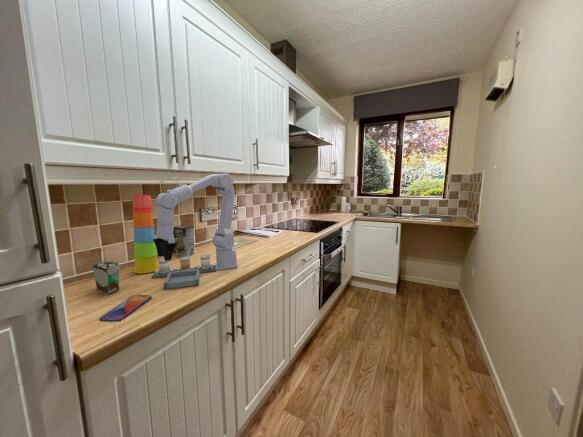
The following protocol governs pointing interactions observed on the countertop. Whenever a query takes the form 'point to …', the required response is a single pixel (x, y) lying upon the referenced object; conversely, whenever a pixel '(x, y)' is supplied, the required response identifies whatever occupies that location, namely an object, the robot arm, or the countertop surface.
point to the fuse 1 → (163, 266)
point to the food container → (107, 276)
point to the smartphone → (126, 308)
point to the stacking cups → (144, 235)
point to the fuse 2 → (205, 262)
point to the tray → (182, 279)
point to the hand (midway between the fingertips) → (164, 258)
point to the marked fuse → (185, 263)
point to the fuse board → (158, 275)
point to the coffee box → (184, 240)
